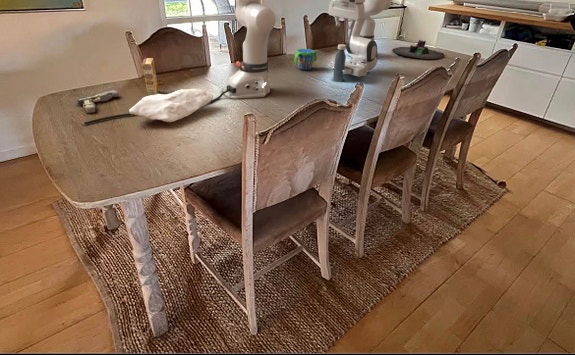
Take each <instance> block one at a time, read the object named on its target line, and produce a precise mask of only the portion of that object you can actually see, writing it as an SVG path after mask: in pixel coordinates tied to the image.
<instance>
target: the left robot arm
mask: <svg viewBox="0 0 575 355" xmlns="http://www.w3.org/2000/svg"><path fill="white" fill-rule="evenodd" d="M364 2H365V0H330V2H329V5H328V12H327V13H328V15H329V16H331V17H334V21H335V27H338V28H340V27H341V22H340V18H341V19H346V20H350V21H349V22H350V23H349V24H348V25H347V29H348V30H351V29H352V27H353V24H354V23H355V20H356V21H361V20H362V19H363V18H364V11H365V6H364V4H363V3H364ZM236 3H237V4H236V6H235V10H234V16H235V18H236V20H237V21H238V23H239V24H240V25H241V26H243V27H245V28H246V35H245V39H244V41H243V42H242V59H243V60H242V61H236V62H235V65H236V66H237V67H239V69H237V71H236V72H235V73H234V74H232V75H231V76H230V77H229V78H228V81H227V85H226V87H224V88H223V91H222V92H221V93H220V94H219V96H217V97H215V98H213V99H212V100H211V101H210V102H209V103H207V104H206V105H208V104H211V103H215V102H216V101H218V100H219V99H221V98H222V97H223V96H224V95H225V96H226V97H228V98H230V99H233V100H236V99H237V100H238V99H239V100H240V99H253V98H254V99H255V98H264V97H266V95H268V94H269V93H270V92H271V88H270V84H269V78H268V76H269V75H268V72H269V61H268V45H269V44H268V43H269V38H270V34H271V31H273V29H274V28H275V25H276V20H277V19H276V14H275V13H274V11H273V10H272V9H271V8H270V7H268V6H267V5H265V4H263V3H262V1H261V0H236ZM128 116H129V117H130V116H135V115H134V114H130V112H127V113H121V114H120V113H119V114H115V115H108V116H104V117H100V118H95V119H92V120H88V121H84V125H89V124H94V123H97V122H100V121H101V122H102V121H104V120H110V119H116V118H123V117H128Z"/></svg>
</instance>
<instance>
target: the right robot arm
mask: <svg viewBox="0 0 575 355" xmlns="http://www.w3.org/2000/svg"><path fill="white" fill-rule="evenodd" d="M363 4H364V6H365V11H364V18H363V19H362V20H361V21H356V20H355V23H354V24H353V27H352V29H350V32H349V35H348V37H347V39H346V41H345V43H344V45H346V49H345V51H346V52H347V56H348V57H351V58H349V59H348V60H347V61H345V69H344V70H342V73H343V74H344V75H346V74H347V75H348V74H349V75H351V76H355V77H365V76H367V73H368V72H369V71H372V70H373V69H374V68H375V67H376V66H377V64H378V59H377V54H378V44H377V42H376V41H375V30H376V29H375V28H376V21H375V19H374V18H372V16H376V15H379V14H380V13H382V12H383V11H387V10H388V9H389V8H390V7H391V4H392V0H365V2H364V3H363ZM334 65H335V60H332V61H331V62H330V68H331V70H332V71H334Z"/></svg>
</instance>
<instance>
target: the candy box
mask: <svg viewBox="0 0 575 355" xmlns="http://www.w3.org/2000/svg"><path fill="white" fill-rule="evenodd" d="M141 66H142V73H143V78H144V82H145V87H146V92H147V96H150V95H156V94H159V91H160V90H159V84H158V79H157V73H156V66H155V62H154V58H153V57H151V58H150V57H149V58H146V57H145V58H143V60H142V63H141Z"/></svg>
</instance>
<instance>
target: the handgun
mask: <svg viewBox="0 0 575 355" xmlns="http://www.w3.org/2000/svg"><path fill="white" fill-rule="evenodd" d="M119 96H120V94H119V92H118V91H117V90H116V89H112V90H108V91H105V92H104V91H103V92H101V93H96V94H94V95H86V94H85V95H84V94H83V95H81V96H80V97H77V98H76V101H77V104H78V105H82V108H83V109H84V110H85V113H87V114H91V113H95V112H96V104H95V103H98V102H106V101H109V100H111V99H113V98H117V97H119Z"/></svg>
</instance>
